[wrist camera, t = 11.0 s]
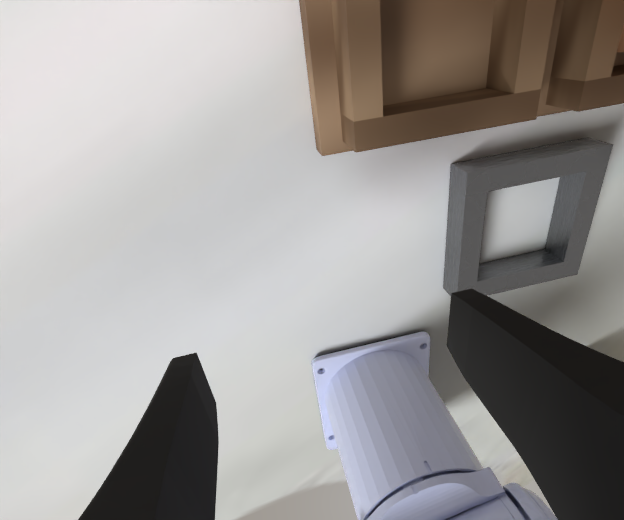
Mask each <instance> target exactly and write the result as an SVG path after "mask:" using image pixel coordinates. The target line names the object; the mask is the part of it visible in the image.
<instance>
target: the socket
mask: <svg viewBox="0 0 624 520" xmlns="http://www.w3.org/2000/svg"><path fill="white" fill-rule="evenodd" d="M612 147H613V144H609V143H606V142H602V141H599V140H595V139H591V138H583V139H578V140H573V141H568V142H562V143H557V144H552V145H547V146H542V147H536V148H531V149H526V150H521V151H516V152H510V153H505V154H500V155H495V156H490V157H484V158H479V159H474V160H469V161H464V162H458V163H453V164H451V172H450V188H449V204H448V220H447V236H446V252H445V268H444V284H443V288H444V289H445V290H446V292H447V293H448V294H449V295H450V296H451V293H454V292H458V291H462V290H467V289H471V288H472V289H474V290H476V291H478V292H480V293H482V294H484V295H486V296H487V295H491V294H495V293H500V292H504V291H508V290H512V289H517V288H521V287H525V286H530V285H534V284H538V283H542V282H547V281H551V280H555V279H559V278H564V277H568V276H572V275H577V274H578V270H579V266H580V263H581V259H582V255H583V252H584V248H585V245H586V241H587V237H588V234H589V230H590V226H591V223H592V219H593V215H594V212H595V208H596V205H597V201H598V197H599V194H600V190H601V186H602V183H603V179H604V176H605V172H606V168H607V165H608V161H609V157H610V154H611V150H612ZM557 177H560V182H559V186H558V191H557V196H556V200H555V205H554V210H553V214H552V219H551V223H550V228H549V233H548V237H547V242H546V247H545V250H540V251H536V252H531V253H527V254H522V255H518V256H513V257H509V258H504V259H500V260H496V261H491V262H487V263H482V264H479V259H480V251H481V242H482V234H483V225H484V217H485V208H486V199H487V192H488V191H492V190H497V189H502V188H507V187H512V186H517V185H522V184H527V183H532V182H537V181H542V180H547V179H552V178H557Z"/></svg>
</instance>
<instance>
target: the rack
mask: <svg viewBox="0 0 624 520" xmlns="http://www.w3.org/2000/svg"><path fill="white" fill-rule="evenodd" d="M299 3H300V12H301V20H302V29H303V37H304V46H305V54H306V63H307V71H308V80H309V88H310V97H311V105H312V114H313V122H314V131H315V139H316V148H317V150H318V152H319V153H320V154H321V155H322V156H325V155H331V154H336V153H342V152H347V151H352V150H354V151H355V152H361V151H366V150H372V149H377V148H382V147H388V146H393V145H399V144H404V143H410V142H415V141H420V140H426V139H431V138H437V137H442V136H448V135H453V134H458V133H464V132H469V131H475V130H480V129H486V128H491V127H497V126H502V125H507V124H513V123H518V122H524V121H529V120H535V119H536V117H538V116H543V115H549V114H554V113H560V112H565V111H571V110H574V111H583V110H589V109H594V108H600V107H605V106H611V105H616V104H622V103H624V52H617V49H618V45H619V41H620V37H621V33H622V29H623V25H624V0H299Z"/></svg>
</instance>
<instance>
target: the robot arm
mask: <svg viewBox="0 0 624 520" xmlns="http://www.w3.org/2000/svg"><path fill="white" fill-rule="evenodd" d="M423 343H424V344H423ZM421 344H423V345H421ZM447 347H448V349H449V351H450V352H451V354H452V356H453V358H454V360H455V362H456V364H457V366H458V367H459V369H460V371H461V373H462V374H463V376H464V378H465V379H466V381H467V382H468V384H469V385H470V386H471V388H472V389H473V391H474V392H475V393H476V395H477V396H478V398H479V399H480V400H481V402H482V403H483V405H484V406H485V407H486V409H487V410H488V411H489V413H490V414H491V416H492V417H493V418H494V420H495V421H496V422H497V424H498V425H499V427H500V428H501V429H502V431H503V432H504V433H505V435H506V436H507V438H508V439H509V440H510V442H511V443H512V444H513V446H514V447H515V449H516V450H517V452H518V453H519V455H520V456H521V458H522V459H523V461H524V462H525V464H526V466H527V467H528V469H529V471H530V472H531V474H532V476H533V478H534V479H535V481H536V483H537V484H538V486H539V487H540V489H541V491H542V493H543V494H544V496H545V498H546V500H547V501H548V503H549V505H550V507H551V508H552V510H553V512H554V514H555V515H554V514H553V513H552V512H551V510H550V509H549V508H548V507H547V505H546V504H545V503H544V502H543V501H542V500H541V499H540V498H539V497H538V496H537V495H536V494H535V493H534V492H532V491H530V490H527V489H525V488H523V487H521V486H520V485H519V484H517V483H509V484H507V485H505V486H503V487H502V486H501V484H500V483H499V481H498V480H497V478H496V476H495V475H494V473H493V471H492V470H491V468H489V467H487V468H483V467H482V465H481V463H480V462H479V460H478V458H477V457H476V455H475V453H474V452H473V450H472V449H471V447H470V445H469V444H468V442H467V440H466V439H465V437H464V435H463V434H462V432H461V430H460V429H459V427H458V425H457V424H456V422H455V420H454V419H453V417H452V416H451V414H450V412H449V411H448V409H447V407H446V406H445V404H444V402H443V401H442V399H441V397H440V396H439V394H438V392H437V391H436V389H435V387H434V386H433V384H432V383H431V381H430V379H429V358H430V336H429V334H428V333H427V332H418V333H414V334H410V335H405V336H401V337H397V338H393V339H389V340H385V341H380V342H376V343H372V344H368V345H364V346H360V347H355V348H351V349H347V350H343V351H339V352H335V353H330V354H326V355H322V356H318V357H316V358H314V359H313V361H312V368H313V373H314V379H315V385H316V391H317V396H318V402H319V408H320V414H321V420H322V425H323V431H324V437H325V443H326V447H327V448H328V449H330V450H333V449H337V448H338V451H339V454H340V458H341V461H342V465H343V468H344V472H345V475H346V479H347V483H348V486H349V490H350V493H351V497H352V500H353V504H354V507H355V511H356V514H357V518H358V520H624V362H621V361H619V360H616V359H614V358H611V357H609V356H607V355H604V354H602V353H600V352H597V351H595V350H593V349H591V348H589V347H586V346H584V345H582V344H580V343H578V342H575V341H573V340H571V339H569V338H567V337H565V336H563V335H561V334H559V333H557V332H555V331H552V330H550V329H549V328H547V327H545V326H543V325H541V324H539V323H537V322H535V321H533V320H531V319H529V318H527V317H525V316H523V315H521V314H520V313H518V312H516V311H514V310H512V309H510V308H508V307H506V306H505V305H503V304H501V303H499V302H497V301H495V300H493V299H491V298H490V297H488V296H486V295H484V294H482V293H480V292H478V291H476V290H474V289H472V288H471V289H467V290H462V291H458V292H454V293H451V304H450V316H449V327H448V338H447ZM321 368H323V369H321ZM319 369H321V370H319ZM217 463H218V423H217V409H216V402H215V399H214V397H213V394H212V391H211V389H210V386H209V384H208V381H207V379H206V376H205V373H204V371H203V368H202V366H201V363H200V361H199V358H198V355H197V353H193V354H189V355H185V356H180V357H176V358H173V359H172V361H171V362H170V364H169V366H168V368H167V370H166V372H165V374H164V376H163V378H162V380H161V382H160V384H159V386H158V388H157V390H156V392H155V394H154V396H153V398H152V400H151V402H150V404H149V406H148V408H147V410H146V412H145V413H144V415H143V417H142V419H141V421H140V423H139V424H138V426H137V428H136V430H135V432H134V433H133V435H132V437H131V439H130V440H129V442H128V444H127V445H126V447H125V449H124V450H123V452H122V454H121V455H120V457H119V459H118V460H117V462H116V464H115V465H114V467H113V469H112V470H111V472H110V473H109V475H108V477H107V478H106V480H105V481H104V483H103V484H102V486H101V487H100V489H99V490H98V492H97V493H96V495H95V496H94V498H93V499H92V501H91V502H90V504H89V505H88V506H87V508H86V509H85V511H84V512H83V514H82V515H81V516H80V518H79V519H78V520H215V503H216V483H217ZM555 516H556V517H557V518H556V517H555Z"/></svg>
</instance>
